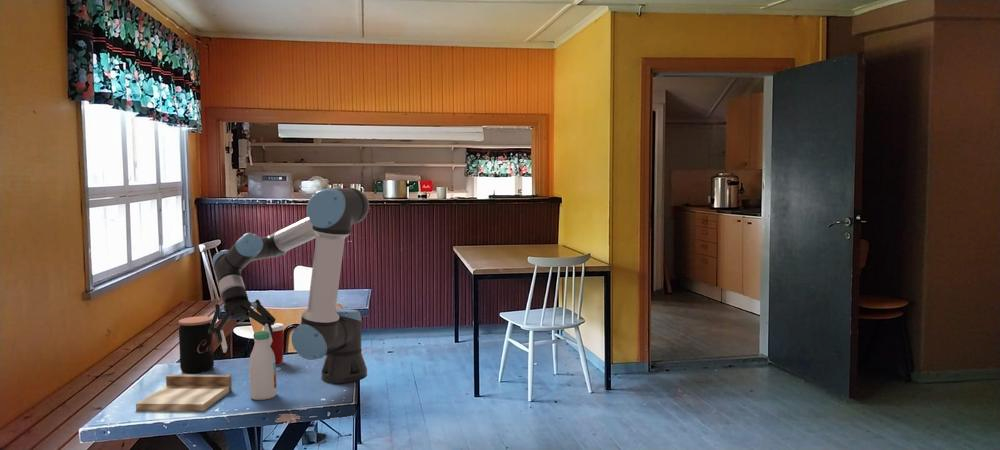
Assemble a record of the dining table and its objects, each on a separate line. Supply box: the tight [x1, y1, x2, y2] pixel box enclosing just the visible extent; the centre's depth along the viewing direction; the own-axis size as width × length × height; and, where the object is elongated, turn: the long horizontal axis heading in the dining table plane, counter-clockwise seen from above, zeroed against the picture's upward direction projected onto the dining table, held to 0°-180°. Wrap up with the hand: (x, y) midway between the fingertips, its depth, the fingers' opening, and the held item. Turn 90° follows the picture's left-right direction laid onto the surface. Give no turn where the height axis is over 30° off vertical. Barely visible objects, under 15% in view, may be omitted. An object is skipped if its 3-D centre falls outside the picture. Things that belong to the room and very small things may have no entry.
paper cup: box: [262, 322, 286, 366], centre depth 233 cm, size 8×8×14 cm
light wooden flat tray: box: [135, 373, 233, 412], centre depth 195 cm, size 20×18×5 cm
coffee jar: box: [178, 315, 215, 375], centre depth 225 cm, size 11×11×18 cm
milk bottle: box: [248, 330, 277, 401], centre depth 197 cm, size 8×8×20 cm
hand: (248, 346), depth 200 cm, fingers open, 13 cm apart
